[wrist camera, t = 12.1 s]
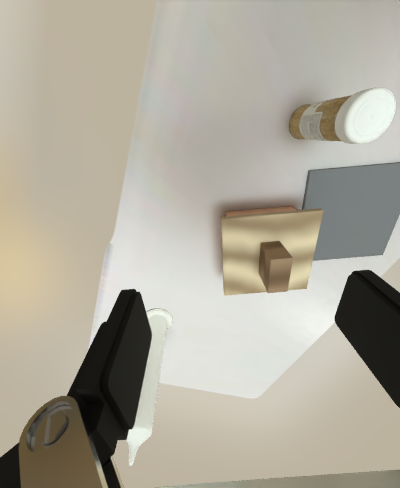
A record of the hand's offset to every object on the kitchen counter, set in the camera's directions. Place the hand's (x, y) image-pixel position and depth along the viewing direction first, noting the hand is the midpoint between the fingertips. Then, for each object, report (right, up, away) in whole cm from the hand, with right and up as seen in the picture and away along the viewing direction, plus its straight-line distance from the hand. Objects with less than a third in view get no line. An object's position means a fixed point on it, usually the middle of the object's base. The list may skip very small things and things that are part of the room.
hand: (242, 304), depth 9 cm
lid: (+9, +1, +25) cm, 27 cm away
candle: (-12, -15, +41) cm, 45 cm away
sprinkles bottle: (+14, +21, +21) cm, 33 cm away
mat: (+26, +8, +29) cm, 39 cm away
